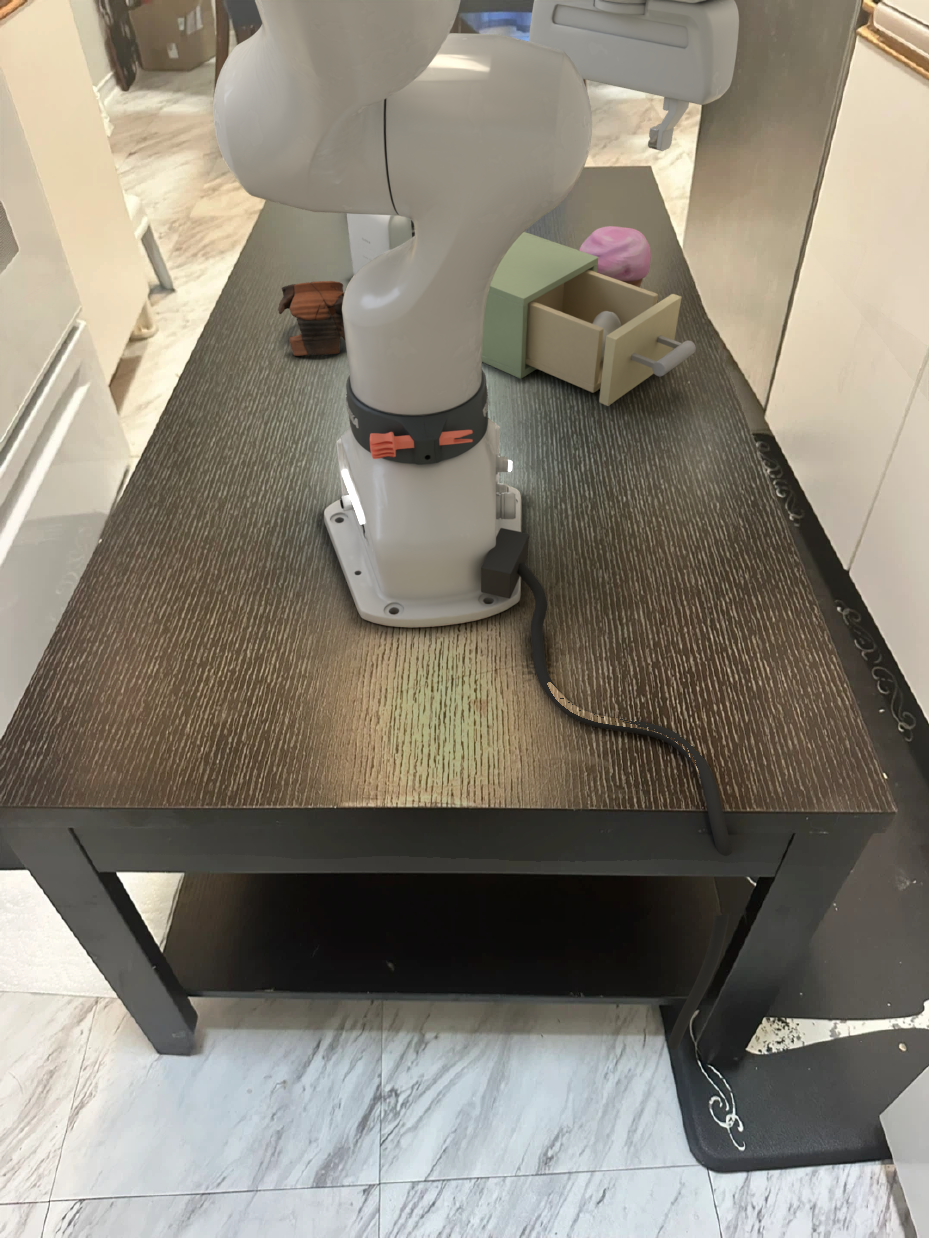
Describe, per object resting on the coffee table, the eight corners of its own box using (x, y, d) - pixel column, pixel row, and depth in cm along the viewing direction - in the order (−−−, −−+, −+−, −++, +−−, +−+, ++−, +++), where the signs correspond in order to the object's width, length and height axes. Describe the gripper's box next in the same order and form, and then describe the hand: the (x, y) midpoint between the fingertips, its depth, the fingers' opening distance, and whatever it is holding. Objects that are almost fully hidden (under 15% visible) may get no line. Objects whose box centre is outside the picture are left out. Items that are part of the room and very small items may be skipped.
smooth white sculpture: (584, 384, 99) (551, 357, 100) (628, 356, 102) (595, 330, 104) (596, 355, 95) (562, 327, 96) (641, 327, 99) (608, 300, 100)
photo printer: (349, 279, 120) (338, 183, 111) (374, 270, 122) (366, 175, 113) (393, 306, 114) (386, 207, 105) (420, 296, 116) (415, 198, 107)
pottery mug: (268, 360, 106) (258, 287, 104) (311, 359, 114) (302, 291, 112) (355, 350, 101) (347, 273, 99) (393, 350, 109) (386, 279, 107)
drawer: (704, 374, 100) (717, 309, 94) (642, 421, 93) (652, 353, 88) (563, 319, 109) (567, 257, 104) (498, 358, 103) (499, 294, 97)
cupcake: (564, 298, 115) (570, 220, 108) (625, 288, 117) (635, 210, 110) (592, 330, 109) (600, 249, 102) (656, 319, 111) (668, 238, 104)
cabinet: (591, 334, 108) (598, 257, 101) (520, 379, 101) (523, 298, 94) (488, 294, 116) (489, 219, 109) (416, 333, 109) (412, 255, 102)
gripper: (516, -49, 78) (512, 124, 88) (721, -20, 68) (690, 170, 78) (560, -59, 81) (551, 108, 91) (761, -33, 72) (727, 152, 81)
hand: (617, 137), depth 85 cm, fingers open, 8 cm apart
